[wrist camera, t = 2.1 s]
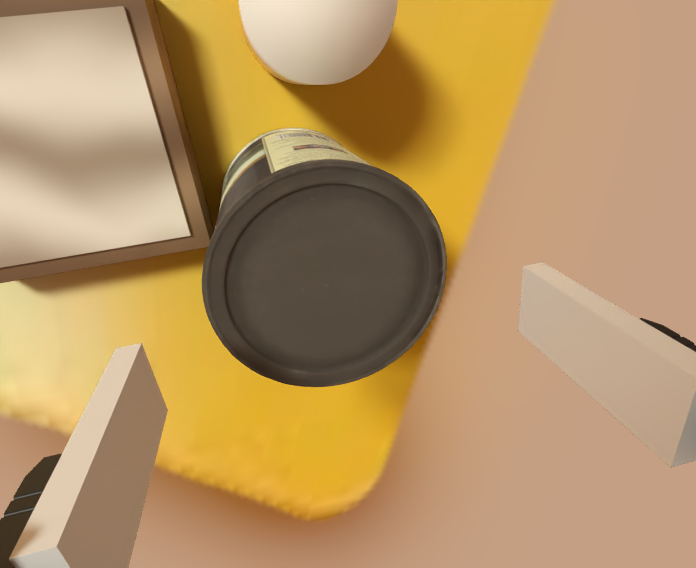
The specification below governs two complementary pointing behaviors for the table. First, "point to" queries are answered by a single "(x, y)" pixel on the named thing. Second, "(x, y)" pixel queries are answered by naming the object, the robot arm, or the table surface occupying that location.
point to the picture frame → (91, 140)
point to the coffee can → (319, 262)
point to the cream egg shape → (316, 37)
